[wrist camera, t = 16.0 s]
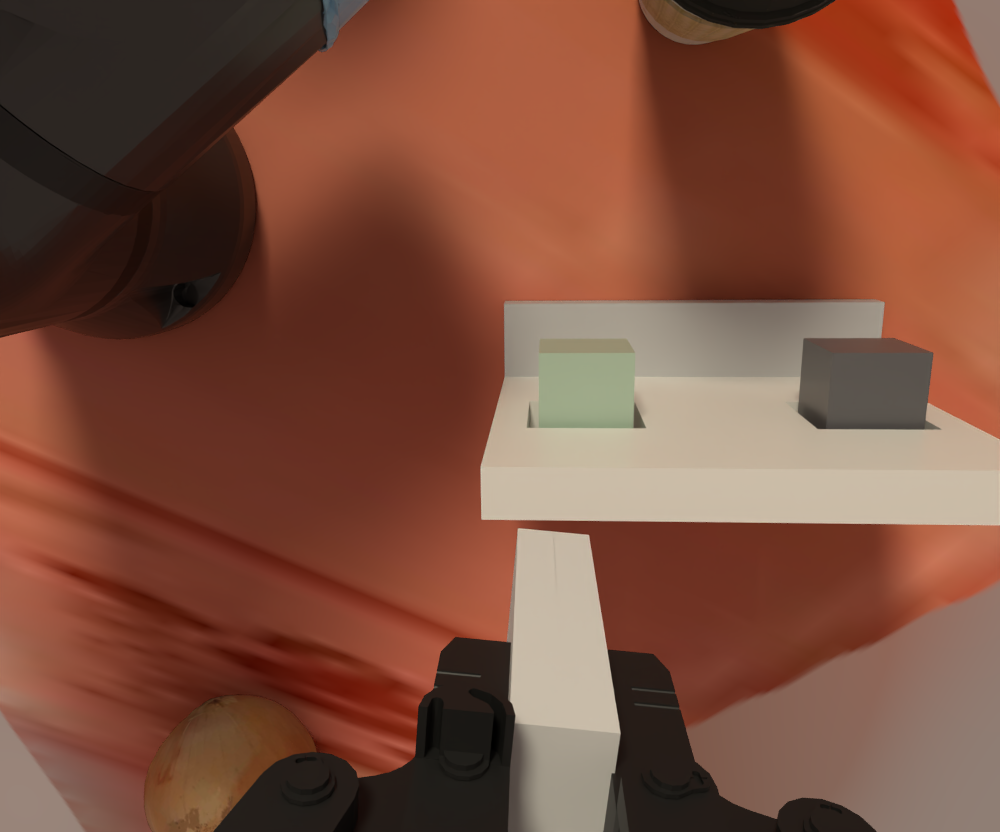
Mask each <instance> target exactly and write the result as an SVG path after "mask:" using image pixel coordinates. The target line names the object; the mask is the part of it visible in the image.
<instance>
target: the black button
mask: <svg viewBox="0 0 1000 832" xmlns="http://www.w3.org/2000/svg"><path fill="white" fill-rule="evenodd" d="M932 360H933V353H932V352H930V351H927V350H924V349H922V348H919V347H916V346H914V345H911V344H908V343H906V342H903V341H900V340H898V339H895V338H804V339H803V352H802V364H801V377H800V390H799V403H798V413H799V414H800V415H801V416H802V417H804V418H805V419H806V420H807V421H808V422H810V423H811V424H812V425H813V426H815V427H816V428H817V429H896V430H924V429H925V420H926V411H927V403H928V394H929V386H930V377H931V369H932Z"/></svg>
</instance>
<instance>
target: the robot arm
mask: <svg viewBox="0 0 1000 832" xmlns="http://www.w3.org/2000/svg"><path fill="white" fill-rule="evenodd" d="M368 1H369V0H0V338H1V337H5V336H9V335H13V334H17V333H21V332H25V331H29V330H33V329H38V328H42V327H46V326H50V325H54V326H58V327H61V328H64V329H67V330H70V331H73V332H77V333H80V334H84V335H88V336H93V337H99V338H108V339H131V338H140V337H146V336H151V335H154V334H158V333H161V332H164V331H168V330H171V329H174V328H177V327H180V326H182V325H184V324H187V323H189V322H191V321H193V320H194V319H196V318H198V317H200V316H201V315H203V314H204V313H206V312H207V311H208V310H209V309H211V308H212V307H213V306H214V305H215V304H216V303H218V302H219V301H220V300H221V299H222V297H223V296H224V295H225V294H226V293H227V292H228V291H229V289H230V288H231V287H232V285H233V284H234V282H235V281H236V279H237V278H238V276H239V274H240V272H241V270H242V268H243V266H244V264H245V262H246V259H247V256H248V254H249V251H250V247H251V244H252V240H253V234H254V229H255V220H256V198H255V188H254V182H253V177H252V173H251V169H250V165H249V162H248V159H247V156H246V153H245V151H244V148H243V146H242V144H241V141H240V139H239V137H238V135H237V133H236V132H235V130H234V128H233V127H234V126H235V125H236V124H238V123H239V122H240V121H241V120H242V119H243V118H244V117H245V116H246V115H247V114H249V113H250V112H251V111H252V110H253V109H254V108H255V107H256V106H257V105H258V104H260V103H261V102H262V101H263V100H264V99H265V98H266V97H267V96H268V95H269V94H271V93H272V92H273V91H274V90H275V89H276V88H277V87H278V86H279V85H280V84H282V83H283V82H284V81H285V80H286V79H287V78H288V77H289V76H290V75H291V74H293V73H294V72H295V71H296V70H297V69H298V68H299V67H300V66H301V65H302V64H304V63H305V62H306V61H307V60H308V59H309V58H310V57H311V56H312V55H313V54H315V53H316V52H317V51H320V52H324V51H327V50H328V49H329V48H331V47H332V46H333V43H334V41H335V40H336V38H337V37H338V34H339V30H340V29H341V28H342V27H343V26H344V25H345V24H346V23H347V22H348V21H349V20H350V19H351V18H352V17H353V16H354V15H355V14H356V13H357V12H358V11H359V10H360V9H361V8H362V7H363V6H364V5H365V4H366V3H367V2H368ZM213 832H876V830H875V829H873V828H872V827H871V826H870V825H869V824H868V823H867V822H866V821H865V820H864V819H863V818H861V817H860V816H859V815H857V814H855V813H853V812H852V811H850V810H848V809H847V808H845V807H843V806H841V805H838V804H835V803H832V802H829V801H826V800H823V799H813V798H800V799H796V800H793V801H789V802H787V803H786V804H785V805H784V806H783V807H782V808H781V809H780V810H779V813H778V818H777V819H774V818H771V817H768V816H765V815H762V814H759V813H756V812H753V811H750V810H747V809H745V808H742V807H740V806H738V805H735V804H733V803H731V802H730V801H728V800H726V799H725V798H723V797H721V796H720V795H719V793H718V789H717V786H716V785H715V783H714V781H713V779H712V777H711V776H710V774H709V773H708V772H707V771H706V770H704V769H703V768H702V767H701V766H700V765H699V764H698V763H696V762H695V760H694V757H693V753H692V750H691V746H690V743H689V739H688V736H687V732H686V728H685V725H684V721H683V718H682V714H681V711H680V710H679V703H678V700H677V696H676V694H675V689H674V686H673V682H672V678H671V675H670V672H669V671H668V669H667V668H666V667H665V666H664V665H663V664H662V663H661V662H660V661H659V660H658V659H657V658H656V656H655V655H654V654H647V653H637V652H627V651H616V650H607V645H606V639H605V633H604V627H603V620H602V614H601V608H600V602H599V595H598V589H597V583H596V576H595V570H594V564H593V558H592V551H591V545H590V539H589V535H585V534H574V533H564V532H553V531H542V530H532V529H521V528H518V533H517V543H516V554H515V564H514V574H513V584H512V594H511V605H510V615H509V625H508V635H507V642H501V641H490V640H480V639H470V638H459V637H455V638H454V639H453V640H452V641H451V642H450V643H449V644H448V645H447V646H446V647H445V648H444V649H443V650H442V651H441V653H440V658H439V663H438V668H437V673H436V678H435V683H434V688H433V690H432V691H431V692H429V693H428V694H426V695H425V696H424V698H423V699H422V701H421V703H420V705H419V709H418V724H417V739H416V754H415V757H414V758H413V759H412V760H411V761H410V762H408V763H407V764H405V765H404V766H403V767H401V768H398V769H396V770H394V771H391V772H389V773H384V774H380V775H376V776H369V777H362V778H357V773H356V771H355V770H354V769H353V768H352V767H351V766H350V765H349V763H348V762H347V761H345V760H343V759H341V758H339V757H336V756H334V755H332V754H326V753H318V752H308V753H300V754H293V755H291V756H288V757H286V758H284V759H281V760H279V761H276V762H275V763H274V764H273V765H271V766H270V767H269V768H268V769H266V770H265V771H264V772H263V773H262V774H261V775H260V776H259V778H258V779H257V780H256V781H255V782H254V784H253V785H252V786H251V787H250V788H249V790H248V791H247V792H246V793H245V794H244V795H243V797H242V798H241V799H240V800H239V801H238V803H237V804H236V805H235V806H234V807H233V809H232V810H231V811H230V812H229V813H228V814H227V816H226V817H225V818H224V819H223V820H222V822H221V823H220V824H219V825H218V826H217V828H216V829H215V830H214V831H213Z"/></svg>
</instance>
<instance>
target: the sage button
mask: <svg viewBox="0 0 1000 832" xmlns="http://www.w3.org/2000/svg"><path fill="white" fill-rule="evenodd" d="M634 383H635V352H634V350H633V348H632V347H631V345H630V343H629V342H628V340H627V339H540V343H539V428H633V417H634Z"/></svg>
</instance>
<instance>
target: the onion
mask: <svg viewBox="0 0 1000 832" xmlns="http://www.w3.org/2000/svg"><path fill="white" fill-rule="evenodd" d="M308 752H316V747H315V744H314V741H313V739H312V737H311V735H310V734H309V732H308V731H307V729H306V728H305V727H304V725H303V724H302V723H301V722H300V720H299V719H298V718H297V717H296V716H295V715H294V714H293V713H292V712H290V711H289V710H288V709H287V708H285V707H284V706H282V705H280V704H279V703H277V702H275V701H272V700H270V699H267V698H263V697H258V696H252V695H225V696H221V697H215V698H212V699H210V700H208V701H206V702H205V703H203V704H202V705H201V706H199V707H198V708H196V709H195V710H193V711H192V712H191V714H190V715H189V716H188V717H187V718H185V719H184V720H183V721H182V722H180V724H179V725H177V726H176V727H175V728H174V730H173V731H172V732H171V733H170V735H169V736H168V737H167V738H166V740H165V741H164V742H163V744H162V745H161V746H160V747H159V749H158V752H157V753H156V755H155V757H154V759H153V761H152V762H151V764H150V766H149V769H148V773H147V777H146V781H145V787H144V809H145V814H146V818H147V822H148V824H149V826H150V829H151V831H152V832H213V831H214V830H215V829H216V828H217V826H218V825H219V824H220V823H221V822H222V820H223V819H224V818H225V817H226V816H227V814H228V813H229V812H230V811H231V810H232V809H233V807H234V806H235V805H236V804H237V803H238V801H239V800H240V799H241V798H242V797H243V795H244V794H245V793H246V792H247V791H248V790H249V788H250V787H251V786H252V785H253V784H254V782H255V781H256V780H257V779H258V778H259V776H260V775H261V774H262V773H263V772H264V771H265V770H266V769H268V768H269V767H270V766H271V765H273V764H274V763H275V762H276V761H279V760H281V759H284V758H286V757H288V756H291V755H293V754H300V753H308Z"/></svg>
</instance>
